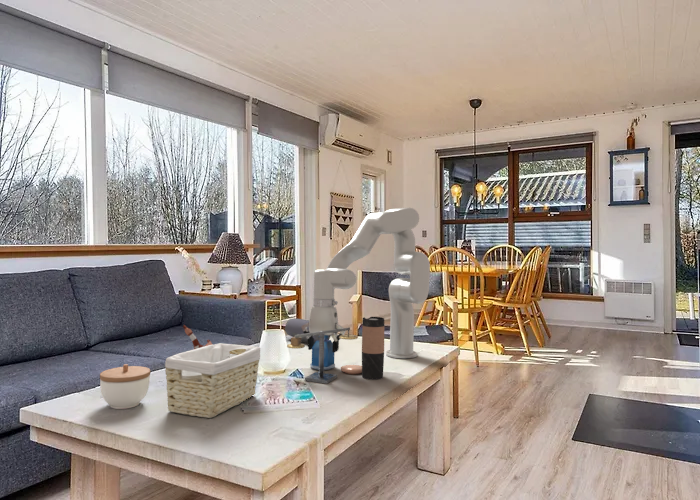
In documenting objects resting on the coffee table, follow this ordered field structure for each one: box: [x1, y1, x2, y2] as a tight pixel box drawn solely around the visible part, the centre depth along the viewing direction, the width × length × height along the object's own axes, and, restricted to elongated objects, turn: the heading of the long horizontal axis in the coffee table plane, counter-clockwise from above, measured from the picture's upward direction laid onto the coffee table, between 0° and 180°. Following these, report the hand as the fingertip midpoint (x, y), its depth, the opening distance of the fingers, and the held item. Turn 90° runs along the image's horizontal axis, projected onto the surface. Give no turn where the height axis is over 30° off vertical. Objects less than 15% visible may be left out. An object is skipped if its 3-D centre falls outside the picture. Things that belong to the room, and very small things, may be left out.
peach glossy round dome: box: [340, 364, 362, 375], centre depth 173 cm, size 9×9×1 cm
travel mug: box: [361, 316, 385, 381], centre depth 167 cm, size 8×8×20 cm
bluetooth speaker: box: [284, 318, 332, 344], centre depth 224 cm, size 23×9×10 cm, turn 46°
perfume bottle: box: [311, 335, 335, 367], centre depth 178 cm, size 6×6×12 cm
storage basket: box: [164, 342, 261, 419], centre depth 136 cm, size 24×16×15 cm
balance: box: [286, 326, 359, 385], centre depth 163 cm, size 8×25×18 cm, turn 68°
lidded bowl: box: [99, 363, 151, 410], centre depth 134 cm, size 13×13×11 cm
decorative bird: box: [182, 324, 214, 350], centre depth 164 cm, size 28×18×15 cm, turn 5°
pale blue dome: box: [309, 362, 336, 371], centre depth 178 cm, size 9×9×1 cm
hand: (322, 350), depth 178 cm, fingers open, 9 cm apart
